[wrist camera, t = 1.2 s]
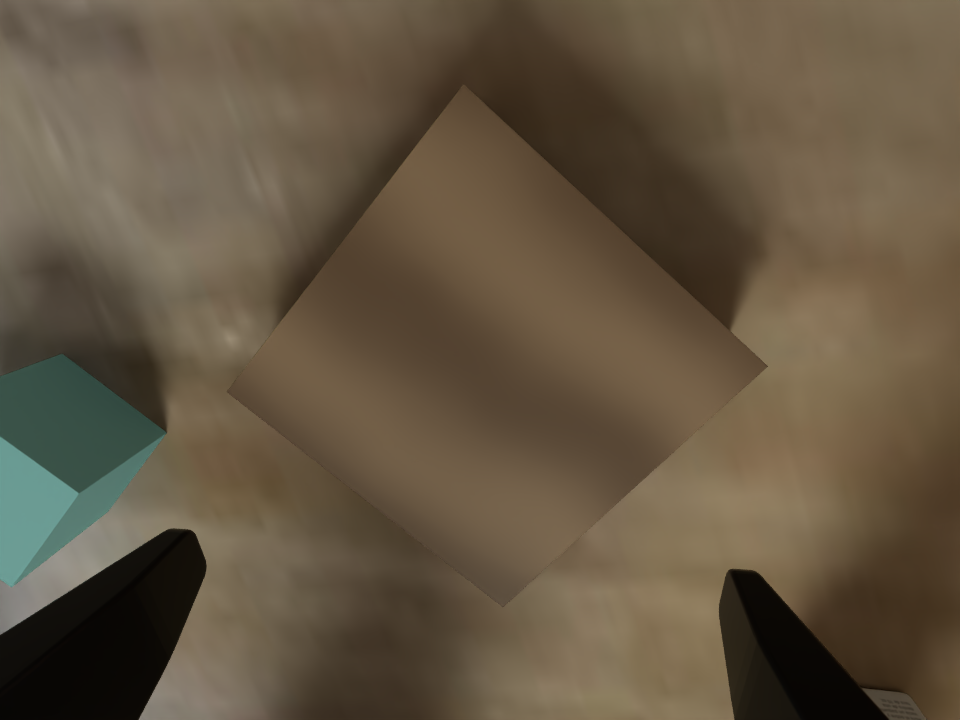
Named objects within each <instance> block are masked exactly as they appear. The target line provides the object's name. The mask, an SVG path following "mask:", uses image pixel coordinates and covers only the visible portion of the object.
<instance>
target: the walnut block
mask: <svg viewBox="0 0 960 720" xmlns="http://www.w3.org/2000/svg"><path fill="white" fill-rule="evenodd" d="M766 367H768V366H767V365H766V364H765V363H764V362H763V361H762V360H761V359H760V358H759V357H757V356H756V355H755V354H754V353H753V352H752V351H751V350H750V349H749V348H748V347H747V346H746V345H745V344H743V343H742V342H741V341H740V340H739V339H738V338H737V337H736V336H735V335H734V334H733V333H732V332H730V331H729V330H728V329H727V328H726V327H725V326H724V325H723V324H722V323H721V322H720V321H719V320H718V319H716V318H715V317H714V316H713V315H712V314H711V313H710V312H709V311H708V310H707V309H706V308H705V307H703V306H702V305H701V304H700V303H699V302H698V301H697V300H696V299H695V298H694V297H693V296H692V295H691V294H689V293H688V292H687V291H686V290H685V289H684V288H683V287H682V286H681V285H680V284H679V283H678V282H676V281H675V280H674V279H673V278H672V277H671V276H670V275H669V274H668V273H667V272H666V271H665V270H664V269H662V268H661V267H660V266H659V265H658V264H657V263H656V262H655V261H654V260H653V259H652V258H651V257H650V256H648V255H647V254H646V253H645V252H644V251H643V250H642V249H641V248H640V247H639V246H638V245H637V244H635V243H634V242H633V241H632V240H631V239H630V238H629V237H628V236H627V235H626V234H625V233H624V232H623V231H621V230H620V229H619V228H618V227H617V226H616V225H615V224H614V223H613V222H612V221H611V220H610V219H608V218H607V217H606V216H605V215H604V214H603V213H602V212H601V211H600V210H599V209H598V208H597V207H596V206H594V205H593V204H592V203H591V202H590V201H589V200H588V199H587V198H586V197H585V196H584V195H583V194H582V193H580V192H579V191H578V190H577V189H576V188H575V187H574V186H573V185H572V184H571V183H570V182H569V181H567V180H566V179H565V178H564V177H563V176H562V175H561V174H560V173H559V172H558V171H557V170H556V169H555V168H553V167H552V166H551V165H550V164H549V163H548V162H547V161H546V160H545V159H544V158H543V157H542V156H540V155H539V154H538V153H537V152H536V151H535V150H534V149H533V148H532V147H531V146H530V145H529V144H528V143H526V142H525V141H524V140H523V139H522V138H521V137H520V136H519V135H518V134H517V133H516V132H515V131H514V130H512V129H511V128H510V127H509V126H508V125H507V124H506V123H505V122H504V121H503V120H502V119H501V118H499V117H498V116H497V115H496V114H495V113H494V112H493V111H492V110H491V109H490V108H489V107H488V106H487V105H485V104H484V103H483V102H482V101H481V100H480V99H479V98H478V97H477V96H476V95H475V94H474V93H472V92H471V91H470V90H469V89H468V88H467V87H466V86H465V85H464V84H463V85H462V87H461V88H460V89H459V91H458V92H457V93H456V95H455V96H454V97H453V98H452V100H451V101H450V102H449V104H448V105H447V106H446V108H445V109H444V110H443V111H442V113H441V114H440V115H439V117H438V118H437V119H436V120H435V122H434V123H433V124H432V126H431V127H430V128H429V130H428V131H427V132H426V133H425V135H424V136H423V137H422V139H421V140H420V141H419V143H418V144H417V145H416V146H415V148H414V149H413V150H412V152H411V153H410V154H409V156H408V157H407V158H406V159H405V161H404V162H403V163H402V165H401V166H400V167H399V169H398V170H397V171H396V172H395V174H394V175H393V176H392V178H391V179H390V180H389V182H388V183H387V184H386V185H385V187H384V188H383V189H382V191H381V192H380V193H379V195H378V196H377V197H376V198H375V200H374V201H373V202H372V204H371V205H370V206H369V208H368V209H367V210H366V211H365V213H364V214H363V215H362V217H361V218H360V219H359V220H358V222H357V223H356V224H355V226H354V227H353V228H352V230H351V231H350V232H349V233H348V235H347V236H346V237H345V239H344V240H343V241H342V243H341V244H340V245H339V246H338V248H337V249H336V250H335V252H334V253H333V254H332V256H331V257H330V258H329V259H328V261H327V262H326V263H325V265H324V266H323V267H322V269H321V270H320V271H319V272H318V274H317V275H316V276H315V278H314V279H313V280H312V282H311V283H310V284H309V285H308V287H307V288H306V289H305V291H304V292H303V293H302V295H301V296H300V297H299V298H298V300H297V301H296V302H295V304H294V305H293V306H292V307H291V309H290V310H289V311H288V313H287V314H286V315H285V317H284V318H283V319H282V320H281V322H280V323H279V324H278V326H277V327H276V328H275V330H274V331H273V332H272V333H271V335H270V336H269V337H268V339H267V340H266V341H265V343H264V344H263V345H262V346H261V348H260V349H259V350H258V352H257V353H256V354H255V356H254V357H253V358H252V359H251V361H250V362H249V363H248V365H247V366H246V367H245V369H244V370H243V371H242V372H241V374H240V375H239V376H238V378H237V379H236V380H235V382H234V383H233V384H232V385H231V387H230V388H229V389H228V391H227V393H229V394H230V395H231V396H232V397H234V398H235V399H236V400H238V401H239V402H240V403H241V404H243V405H244V406H245V407H247V408H248V409H249V410H250V411H252V412H253V413H254V414H256V415H257V416H258V417H259V418H261V419H262V420H263V421H265V422H266V423H267V424H268V425H270V426H271V427H272V428H273V429H275V430H276V431H277V432H279V433H280V434H281V435H282V436H284V437H285V438H286V439H288V440H289V441H290V442H291V443H293V444H294V445H295V446H297V447H298V448H299V449H300V450H302V451H303V452H304V453H306V454H307V455H308V456H309V457H311V458H312V459H313V460H315V461H316V462H317V463H318V464H320V465H321V466H322V467H324V468H325V469H326V470H327V471H329V472H330V473H331V474H333V475H334V476H335V477H336V478H338V479H339V480H340V481H342V482H343V483H344V484H345V485H347V486H348V487H349V488H351V489H352V490H353V491H354V492H356V493H357V494H358V495H359V496H361V497H362V498H363V499H365V500H366V501H367V502H368V503H370V504H371V505H372V506H374V507H375V508H376V509H377V510H379V511H380V512H381V513H383V514H384V515H385V516H386V517H388V518H389V519H390V520H392V521H393V522H394V523H395V524H397V525H398V526H399V527H401V528H402V529H403V530H404V531H406V532H407V533H408V534H410V535H411V536H412V537H413V538H415V539H416V540H417V541H419V542H420V543H421V544H422V545H424V546H425V547H426V548H428V549H429V550H430V551H431V552H433V553H434V554H435V555H436V556H438V557H439V558H440V559H442V560H443V561H444V562H445V563H447V564H448V565H449V566H451V567H452V568H453V569H454V570H456V571H457V572H458V573H460V574H461V575H462V576H463V577H465V578H466V579H467V580H469V581H470V582H471V583H472V584H474V585H475V586H476V587H478V588H479V589H480V590H481V591H483V592H484V593H485V594H487V595H488V596H489V597H490V598H492V599H493V600H494V601H496V602H497V603H498V604H499V605H501V606H502V607H504V606H505V605H506V604H507V603H508V602H509V601H510V600H512V599H513V598H514V597H515V596H516V595H517V594H518V593H519V592H520V591H521V590H523V589H524V588H525V587H526V586H527V585H528V584H529V583H530V582H531V581H532V580H534V579H535V578H536V577H537V576H538V575H539V574H540V573H541V572H542V571H543V570H545V569H546V568H547V567H548V566H549V565H550V564H551V563H552V562H553V561H554V560H556V559H557V558H558V557H559V556H560V555H561V554H562V553H563V552H564V551H565V550H566V549H568V548H569V547H570V546H571V545H572V544H573V543H574V542H575V541H576V540H577V539H579V538H580V537H581V536H582V535H583V534H584V533H585V532H586V531H587V530H588V529H590V528H591V527H592V526H593V525H594V524H595V523H596V522H597V521H598V520H599V519H601V518H602V517H603V516H604V515H605V514H606V513H607V512H608V511H609V510H610V509H612V508H613V507H614V506H615V505H616V504H617V503H618V502H619V501H620V500H621V499H623V498H624V497H625V496H626V495H627V494H628V493H629V492H630V491H631V490H632V489H634V488H635V487H636V486H637V485H638V484H639V483H640V482H641V481H642V480H643V479H644V478H646V477H647V476H648V475H649V474H650V473H651V472H652V471H653V470H654V469H655V468H657V467H658V466H659V465H660V464H661V463H662V462H663V461H664V460H665V459H666V458H668V457H669V456H670V455H671V454H672V453H673V452H674V451H675V450H676V449H677V448H679V447H680V446H681V445H682V444H683V443H684V442H685V441H686V440H687V439H688V438H690V437H691V436H692V435H693V434H694V433H695V432H696V431H697V430H698V429H699V428H701V427H702V426H703V425H704V424H705V423H706V422H707V421H708V420H709V419H710V418H712V417H713V416H714V415H715V414H716V413H717V412H718V411H719V410H720V409H721V408H723V407H724V406H725V405H726V404H727V403H728V402H729V401H730V400H731V399H732V398H733V397H735V396H736V395H737V394H738V393H739V392H740V391H741V390H742V389H743V388H744V387H746V386H747V385H748V384H749V383H750V382H751V381H752V380H753V379H754V378H755V377H757V376H758V375H759V374H760V373H761V372H762V371H763V370H764V369H765V368H766Z"/></svg>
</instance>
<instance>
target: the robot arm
mask: <svg viewBox="0 0 960 720" xmlns="http://www.w3.org/2000/svg"><path fill="white" fill-rule="evenodd" d="M205 573H206V560H205V557H204V555H203V552H202V549H201V547H200V544H199V542H198V539H197V536H196V534H195V533H194V532H193V531H192V530H188V529H168V530H166V531H164V532H162V533H161V534H159V535H158V536H156V537H154V538H153V539H151V540H150V541H148V542H147V543H145V544H143V545H142V546H140V547H139V548H137V549H135V550H134V551H132V552H131V553H129V554H128V555H126V556H124V557H123V558H121V559H120V560H118V561H117V562H115V563H113V564H112V565H110V566H109V567H107V568H105V569H104V570H102V571H101V572H99V573H98V574H96V575H94V576H93V577H91V578H90V579H88V580H87V581H85V582H83V583H82V584H80V585H79V586H77V587H75V588H74V589H72V590H71V591H69V592H68V593H66V594H64V595H63V596H61V597H60V598H58V599H56V600H55V601H53V602H52V603H50V604H49V605H47V606H45V607H44V608H42V609H41V610H39V611H38V612H36V613H34V614H33V615H31V616H30V617H28V618H26V619H25V620H23V621H22V622H20V623H19V624H17V625H15V626H14V627H12V628H11V629H9V630H7V631H6V632H4V633H3V634H1V635H0V720H139V718H140V716H141V714H142V712H143V710H144V708H145V706H146V704H147V703H148V701H149V699H150V697H151V695H152V693H153V691H154V689H155V687H156V686H157V684H158V682H159V680H160V678H161V676H162V674H163V672H164V670H165V668H166V666H167V664H168V662H169V660H170V658H171V656H172V654H173V651H174V649H175V647H176V645H177V642H178V640H179V637H180V635H181V632H182V630H183V628H184V625H185V623H186V620H187V618H188V616H189V613H190V611H191V608H192V606H193V603H194V601H195V599H196V596H197V594H198V591H199V589H200V587H201V584H202V582H203V579H204V577H205ZM719 619H720V626H721V633H722V640H723V646H724V653H725V660H726V667H727V674H728V680H729V687H730V694H731V701H732V707H733V713H734V719H735V720H890V719H889V718H888V717H887V716H886V715H885V714H884V713H883V711H882V710H881V709H880V708H879V707H878V706H877V705H876V704H875V703H874V701H873V700H872V699H871V698H870V697H869V696H868V695H867V694H866V692H865V691H864V690H863V689H862V688H861V687H860V686H859V685H858V684H857V682H856V681H855V680H854V679H853V678H852V677H851V676H850V675H849V673H848V672H847V671H846V670H845V669H844V668H843V667H842V666H841V664H840V663H839V662H838V661H837V660H836V659H835V658H834V657H833V656H832V654H831V653H830V652H829V651H828V650H827V649H826V648H825V647H824V645H823V644H822V643H821V642H820V641H819V640H818V639H817V638H816V637H815V635H814V634H813V633H812V632H811V631H810V630H809V629H808V628H807V626H806V625H805V624H804V623H803V622H802V621H801V620H800V619H799V618H798V616H797V615H796V614H795V613H794V612H793V611H792V610H791V609H790V607H789V606H788V605H787V604H786V603H785V602H784V601H783V600H782V599H781V597H780V596H779V595H778V594H777V593H776V592H775V591H774V590H773V588H772V587H771V586H770V585H769V584H768V583H767V582H766V581H765V580H764V578H763V577H762V576H761V575H760V574H759V573H757V572H756V571H753V570H743V569H730V570H728V572H727V574H726V577H725V581H724V586H723V590H722V594H721V599H720V603H719Z"/></svg>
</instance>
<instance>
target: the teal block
mask: <svg viewBox="0 0 960 720" xmlns="http://www.w3.org/2000/svg"><path fill="white" fill-rule="evenodd" d="M166 433H167V432H165V431H164V430H163V429H161V428H160V427H159V426H157V425H156V424H155V423H153V422H152V421H151V420H149V419H148V418H147V417H145V416H144V415H143V414H141V413H140V412H139V411H137V410H136V409H135V408H133V407H132V406H131V405H129V404H128V403H127V402H126V401H124V400H123V399H122V398H120V397H119V396H118V395H116V394H115V393H114V392H112V391H111V390H110V389H108V388H107V387H106V386H104V385H103V384H102V383H100V382H99V381H98V380H96V379H95V378H94V377H92V376H91V375H90V374H88V373H87V372H86V371H84V370H83V369H82V368H81V367H79V366H78V365H77V364H75V363H74V362H73V361H71V360H70V359H69V358H67V357H66V356H65V355H63V354H60V355H57V356H54V357H52V358H49V359H46V360H43V361H41V362H38V363H35V364H32V365H30V366H27V367H24V368H22V369H19V370H16V371H13V372H11V373H8V374H5V375H2V376H0V580H2V581H3V582H5V583H6V584H7V585H9V586H10V587H13V586H14V585H15V584H17V583H18V582H19V581H20V580H22V579H23V578H24V577H25V576H27V575H28V574H29V573H31V572H32V571H33V570H34V569H36V568H37V567H38V566H39V565H41V564H42V563H43V562H45V561H46V560H47V559H48V558H50V557H51V556H52V555H54V554H55V553H56V552H57V551H59V550H60V549H61V548H62V547H64V546H65V545H66V544H68V543H69V542H70V541H71V540H73V539H74V538H75V537H76V536H78V535H79V534H80V533H82V532H83V531H84V530H85V529H87V528H88V527H89V526H90V525H92V524H93V523H94V522H96V521H97V520H98V519H99V518H101V517H102V516H103V515H104V514H106V513H107V512H108V511H109V509H110V508H111V507H112V505H113V504H114V503H115V501H116V500H117V499H118V497H119V496H120V495H121V493H122V492H123V491H124V489H125V488H126V487H127V485H128V484H129V483H130V481H131V480H132V479H133V477H134V476H135V475H136V473H137V472H138V471H139V469H140V468H141V467H142V465H143V464H144V463H145V461H146V460H147V459H148V457H149V456H150V455H151V453H152V452H153V451H154V449H155V448H156V447H157V445H158V444H159V443H160V441H161V440H162V439H163V437H164V436H165V435H166Z"/></svg>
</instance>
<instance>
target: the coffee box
mask: <svg viewBox="0 0 960 720" xmlns="http://www.w3.org/2000/svg"><path fill="white" fill-rule="evenodd" d="M862 689H863V690H864V691H865V692H866V694H867V695H868V696H869V697H870V698H871V699H872V700H873V701H874V703H875V704H876V705H877V706H878V707H879V708H880V709H881V710H882V711H883V713H884V714H885V715H886V716H887V717H888V718H889V719H890V720H927V719H926V718H925V716H924V715H923V714H922V712H921V711H920V709H919V708H918V706H917V705H916V704H915V702H914V701H913V700H912V698H911V697H910V696H909V695H908V694H905V693H900V692H892V691H884V690H875V689H866V688H862Z"/></svg>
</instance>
